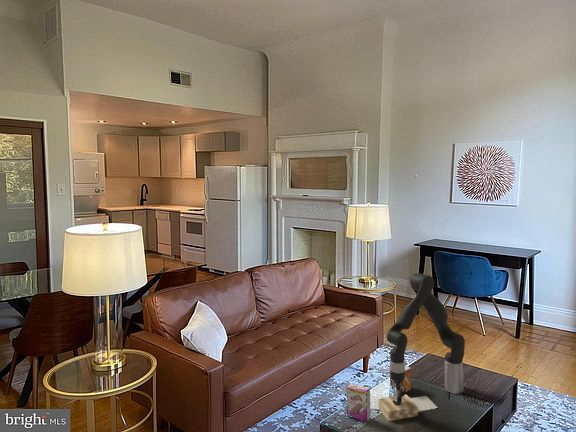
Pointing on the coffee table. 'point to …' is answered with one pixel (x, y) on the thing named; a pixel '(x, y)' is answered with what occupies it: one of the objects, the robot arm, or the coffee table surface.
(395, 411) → the hole block
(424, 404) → the mat
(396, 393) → the peg
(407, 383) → the small box
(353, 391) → the candy bar box
